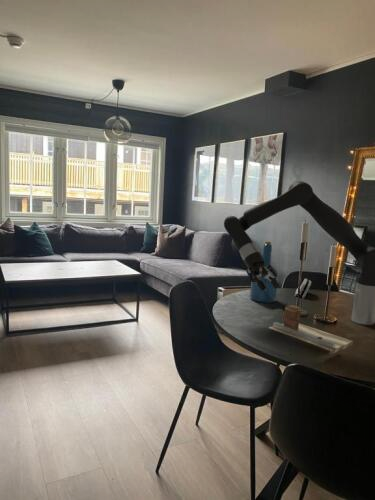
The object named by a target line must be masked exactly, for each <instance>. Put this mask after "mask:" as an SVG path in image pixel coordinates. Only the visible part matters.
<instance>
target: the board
mask: <svg viewBox="0 0 375 500" xmlns="http://www.w3.org/2000/svg"><path fill="white" fill-rule="evenodd" d="M282 324H283V325H284V322H283V323H282ZM268 329H270V330H273V331H276V332H279V333H281V334H284V335H287V336H290V337H292V338H295V339H298V340H300V341H303V342H306V343H309V344H310V345H314V346H316V347H318V348H321V349H324V350H326V351H327V352H325V354H327V355H329V356H331V355H333V354H335V353H339V352H340V351H343V350H345V349H347V348H350V347H352V346H353V343H354V341H353V340H351V339H347V338H344V337H341V336H339V335H335V334H332V333H330V332H326V331H323V330H320V329H318V328H315V327H311V326H309V325H305V324H302V323H300V322H299V327H298V330H300V331H303V332H306V333H309V334H312V335H314V336H317V337H322V338H323V339H326V340H329V341H331V342H334V343H335V348H333V349H332V348H329V347H326V346H323V345H321V344H318V343H315V342H312V341H310V340H307V339H304V338H301V337H299V336H296V335H293V334H291V333H288V332H285V331H282V330H280V329H277V328H274V327H273V325H272V326H269V327H268Z"/></svg>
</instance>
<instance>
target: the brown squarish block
mask: <svg viewBox="0 0 375 500" xmlns="http://www.w3.org/2000/svg"><path fill="white" fill-rule="evenodd" d="M301 308H302V307H301V306H298V305H297V306H296V305H293V304H290V305H285V308H284V310H285V311H284V320H283V323H284V325H286V326H289V327H292V328H295V329H297V330H298V327H299V323H300V317H301V316H300V315H301V311H302V310H301Z"/></svg>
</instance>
